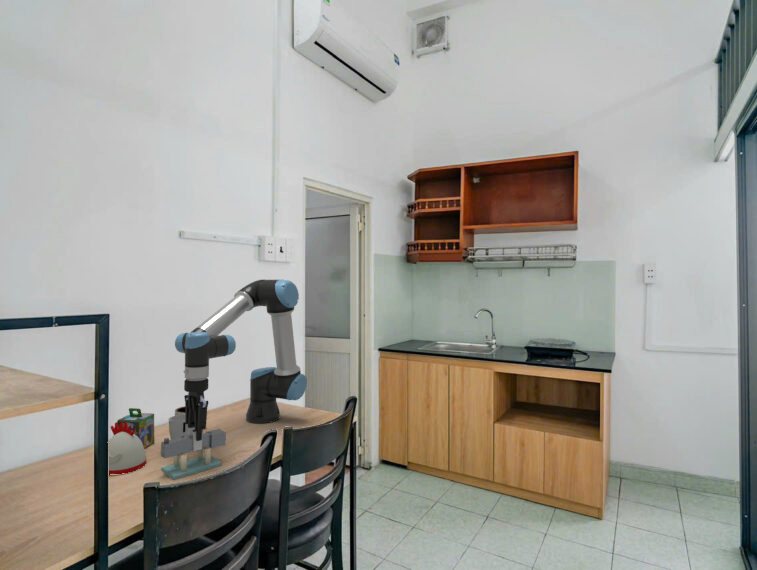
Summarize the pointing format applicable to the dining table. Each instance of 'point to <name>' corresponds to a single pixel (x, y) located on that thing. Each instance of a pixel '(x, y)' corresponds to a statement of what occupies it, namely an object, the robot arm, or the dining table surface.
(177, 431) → the cup
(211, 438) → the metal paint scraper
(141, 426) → the chalk box
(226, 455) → the dining table surface
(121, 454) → the kitchen timer
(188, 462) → the peg rack
